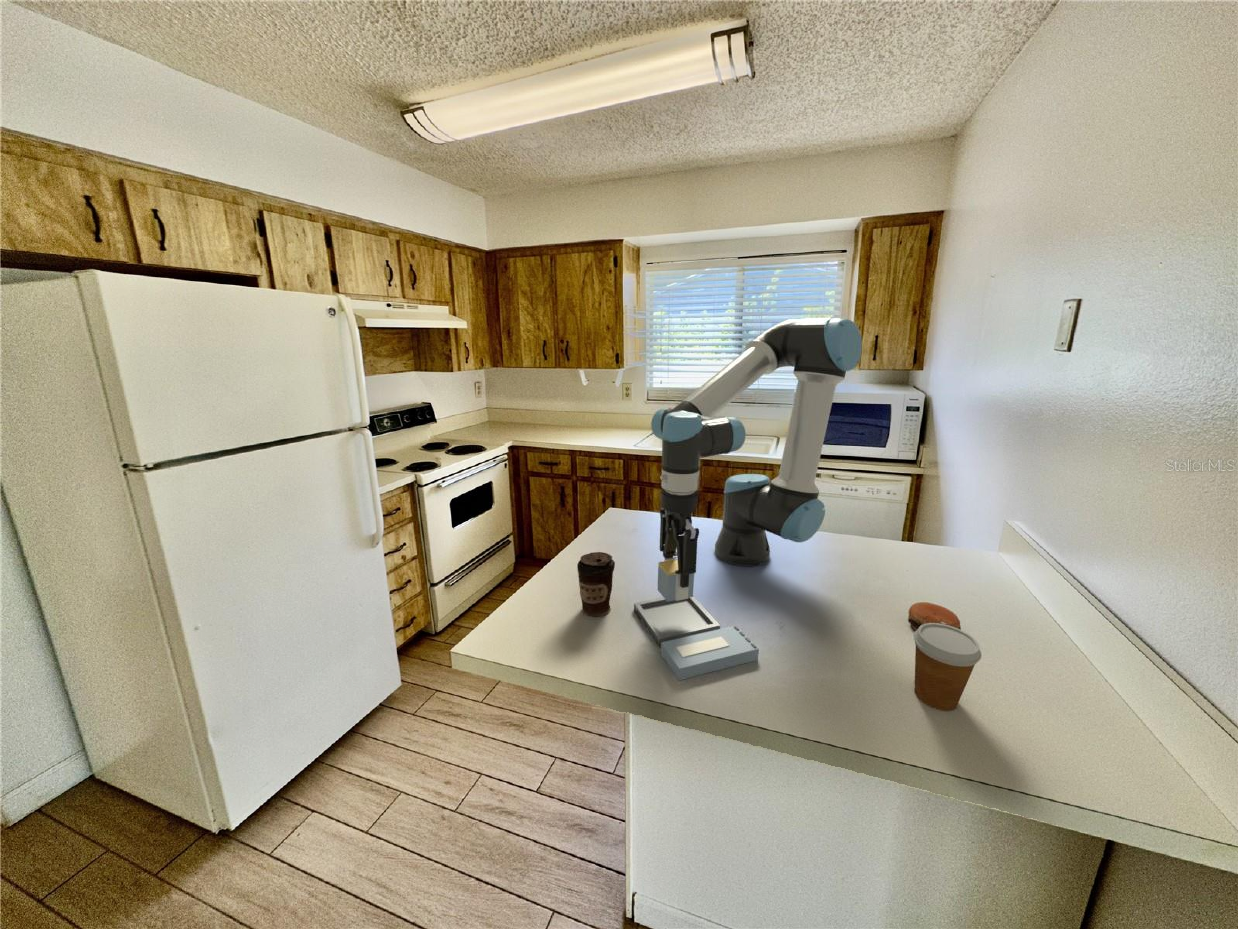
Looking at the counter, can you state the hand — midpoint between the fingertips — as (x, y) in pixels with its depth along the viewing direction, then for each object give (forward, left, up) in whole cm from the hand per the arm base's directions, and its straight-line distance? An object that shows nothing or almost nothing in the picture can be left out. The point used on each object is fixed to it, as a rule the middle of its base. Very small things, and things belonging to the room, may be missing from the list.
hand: (675, 591), depth 104 cm
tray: (0, 0, -7) cm, 7 cm away
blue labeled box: (-1, +13, -7) cm, 15 cm away
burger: (-51, +21, -8) cm, 55 cm away
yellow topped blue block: (0, 0, 0) cm, 0 cm away
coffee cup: (+15, -10, -7) cm, 19 cm away
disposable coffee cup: (-33, +36, -7) cm, 49 cm away
